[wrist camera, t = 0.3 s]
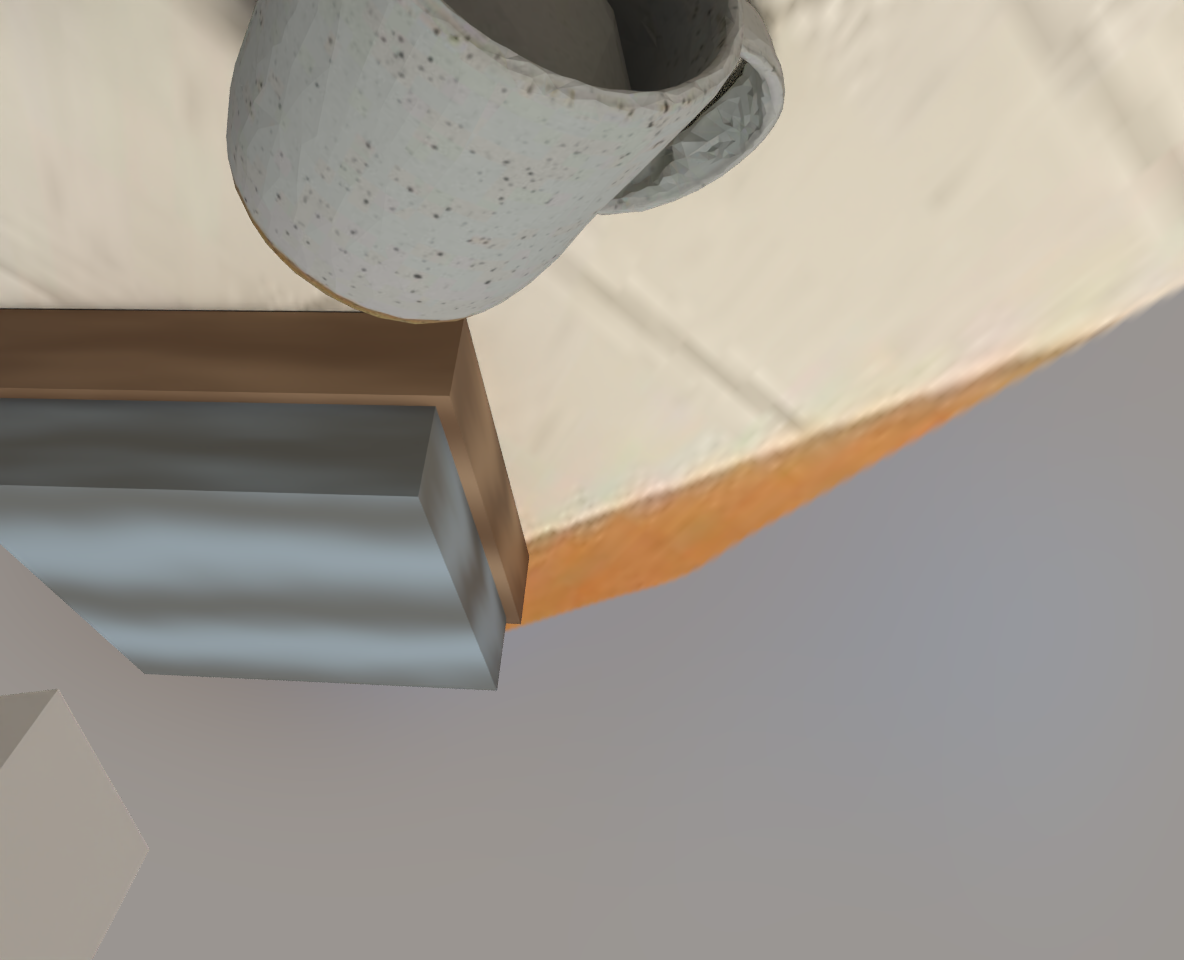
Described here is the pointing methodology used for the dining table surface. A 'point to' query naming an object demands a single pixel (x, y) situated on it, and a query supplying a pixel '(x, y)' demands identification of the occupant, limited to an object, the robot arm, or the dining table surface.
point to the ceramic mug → (480, 134)
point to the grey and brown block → (263, 492)
